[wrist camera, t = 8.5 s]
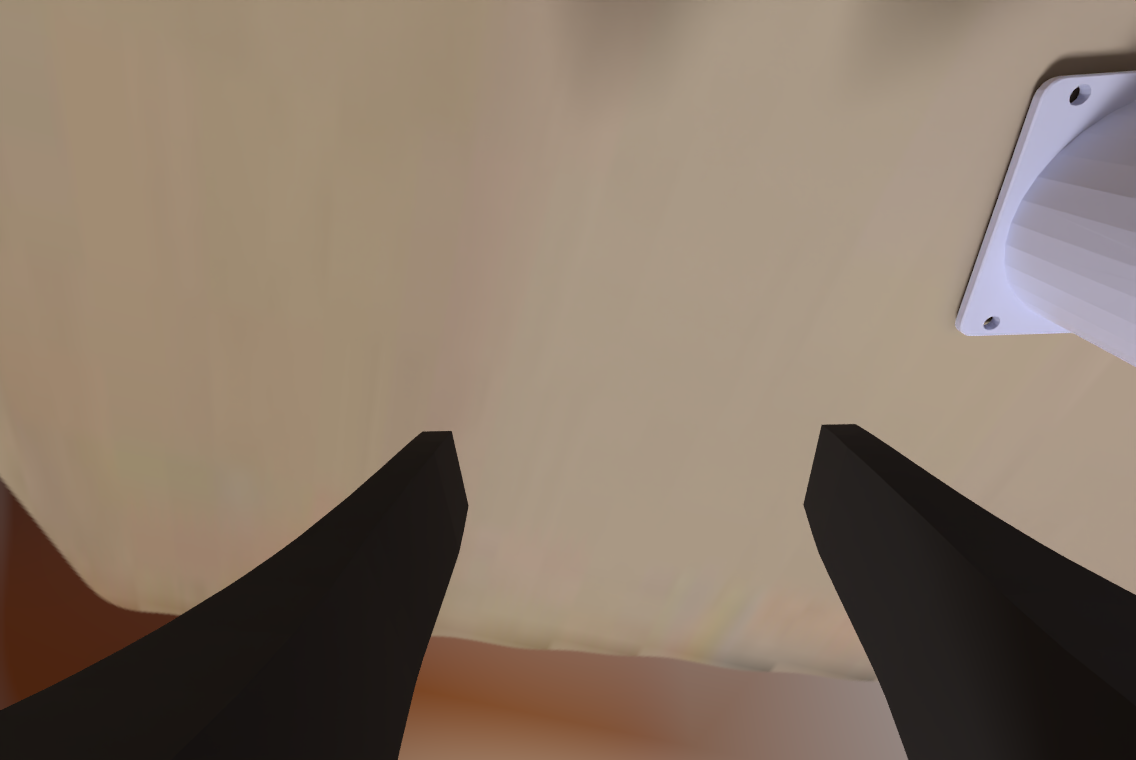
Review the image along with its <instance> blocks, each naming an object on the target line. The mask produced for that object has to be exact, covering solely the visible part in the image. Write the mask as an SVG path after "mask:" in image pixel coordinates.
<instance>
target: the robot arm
mask: <svg viewBox="0 0 1136 760" xmlns="http://www.w3.org/2000/svg"><path fill="white" fill-rule="evenodd" d="M1078 86H1079V88H1080V92H1079V95H1078V97H1077V98H1076V100H1075V101H1073V102H1072V103H1070V102H1069V99H1070V95H1071V93H1072V92H1073V90H1074V89H1076V88H1077V87H1078ZM990 317H993V318H992V320H991V321H990V322H989V323H988V324H986V325H984V322H985V321H986V320H987V319H988V318H990ZM955 326H956V328H957V329H958V330H959V331H960V332H962V333H963V334H965V335H968V336H985V335H1017V334H1049V333H1074V334H1076V335H1078V336H1079V337H1081V338H1083V339H1085V340H1087V341H1089V342H1090V343H1092V344H1094V345H1096V346H1098V347H1100V348H1102V349H1103V350H1105V351H1107V352H1109V353H1111V354H1113V355H1115V356H1116V357H1118V358H1120V359H1122V360H1124V361H1126V362H1127V363H1129V364H1131V365H1133V366H1135V367H1136V70H1135V71H1121V72H1107V73H1093V74H1079V75H1065V76H1057V77H1053V78H1050V79H1049V80H1047V81H1046V82H1044V83H1043V84H1042V85H1041V86H1040V87H1039V88H1038V89H1037V91H1036V93H1035V95H1034V97H1033V99H1032V102H1031V105H1030V108H1029V111H1028V114H1027V116H1026V119H1025V122H1024V125H1023V128H1022V131H1021V134H1020V137H1019V139H1018V142H1017V145H1016V148H1015V151H1014V154H1013V157H1012V160H1011V162H1010V165H1009V168H1008V171H1007V174H1006V177H1005V180H1004V183H1003V185H1002V188H1001V191H1000V194H999V197H998V200H997V203H996V206H995V208H994V211H993V214H992V217H991V220H990V223H989V226H988V229H987V232H986V234H985V237H984V240H983V243H982V246H981V249H980V252H979V255H978V257H977V260H976V263H975V266H974V269H973V272H972V275H971V278H970V280H969V283H968V286H967V289H966V292H965V295H964V298H963V301H962V303H961V306H960V309H959V312H958V315H957V318H956V322H955ZM804 508H805V511H806V514H807V518H808V521H809V524H810V528H811V531H812V534H813V537H814V540H815V543H816V546H817V549H818V552H819V554H820V557H821V559H822V561H823V563H824V565H825V568H826V570H827V572H828V574H829V576H830V578H831V580H832V583H833V585H834V587H835V589H836V591H837V593H838V595H839V598H840V600H841V602H842V604H843V606H844V608H845V610H846V612H847V614H848V616H849V619H850V621H851V623H852V625H853V627H854V629H855V631H856V633H857V635H858V637H859V640H860V642H861V644H862V646H863V648H864V650H865V652H866V654H867V656H868V658H869V661H870V663H871V665H872V667H873V669H874V671H875V674H876V676H877V678H878V681H879V683H880V685H881V688H882V690H883V692H884V695H885V697H886V699H887V702H888V705H889V708H890V710H891V713H892V716H893V718H894V721H895V724H896V727H897V729H898V732H899V735H900V738H901V740H902V743H903V746H904V748H905V751H906V754H907V757H908V760H1136V595H1135V594H1133V593H1131V592H1129V591H1127V590H1125V589H1123V588H1121V587H1119V586H1118V585H1116V584H1114V583H1112V582H1110V581H1108V580H1106V579H1105V578H1103V577H1101V576H1099V575H1097V574H1095V573H1093V572H1091V571H1090V570H1088V569H1086V568H1084V567H1082V566H1080V565H1078V564H1076V563H1075V562H1073V561H1071V560H1069V559H1067V558H1065V557H1064V556H1062V555H1060V554H1058V553H1057V552H1055V551H1053V550H1051V549H1050V548H1048V547H1046V546H1044V545H1043V544H1041V543H1039V542H1037V541H1036V540H1034V539H1032V538H1031V537H1029V536H1027V535H1026V534H1024V533H1022V532H1021V531H1019V530H1017V529H1016V528H1014V527H1013V526H1011V525H1009V524H1008V523H1006V522H1004V521H1003V520H1001V519H999V518H998V517H996V516H994V515H993V514H991V513H990V512H988V511H986V510H985V509H983V508H982V507H980V506H979V505H977V504H975V503H974V502H972V501H971V500H969V499H968V498H966V497H965V496H963V495H961V494H960V493H958V492H957V491H955V490H954V489H952V488H951V487H949V486H948V485H946V484H945V483H943V482H942V481H940V480H939V479H937V478H936V477H934V476H933V475H931V474H930V473H928V472H927V471H925V470H924V469H922V468H921V467H920V466H918V465H917V464H915V463H914V462H912V461H911V460H909V459H908V458H906V457H905V456H903V455H902V454H900V453H899V452H898V451H896V450H895V449H893V448H892V447H890V446H889V445H887V444H886V443H884V442H883V441H881V440H880V439H878V438H877V437H875V436H874V435H872V434H871V433H869V432H868V431H866V430H864V429H863V428H861V427H859V426H858V425H856V424H839V425H822V426H821V430H820V435H819V439H818V444H817V448H816V452H815V457H814V461H813V465H812V470H811V474H810V479H809V483H808V487H807V492H806V496H805V500H804ZM467 511H468V502H467V497H466V493H465V489H464V484H463V480H462V475H461V471H460V466H459V462H458V457H457V453H456V448H455V444H454V439H453V435H452V431H430V432H422V433H420V434H419V435H418V436H417V437H415V438H414V439H413V440H412V441H411V442H410V443H408V444H407V445H406V446H405V447H404V448H403V449H402V450H401V451H399V452H398V453H397V454H396V455H395V456H394V457H393V458H392V459H391V460H390V461H388V462H387V463H386V464H385V465H384V466H383V467H382V468H381V469H380V470H378V471H377V472H376V473H375V474H374V475H373V476H372V477H370V478H369V479H368V480H367V481H366V482H365V483H364V484H362V485H361V486H360V487H359V488H358V489H357V490H356V491H354V492H353V493H352V494H351V495H350V496H349V497H348V498H346V499H345V500H344V501H343V502H341V503H340V504H339V505H338V506H336V507H335V508H334V509H333V510H332V511H330V512H329V513H328V514H327V515H325V516H324V517H323V518H322V519H320V520H319V521H318V522H317V523H315V524H314V525H313V526H312V527H310V528H309V529H308V530H307V531H306V532H304V533H303V534H302V535H300V536H299V537H298V538H297V539H295V540H294V541H293V542H291V543H290V544H289V545H287V546H286V547H284V548H283V549H282V550H280V551H279V552H278V553H276V554H275V555H273V556H272V557H271V558H269V559H268V560H266V561H265V562H263V563H262V564H260V565H259V566H257V567H256V568H255V569H253V570H252V571H250V572H249V573H247V574H246V575H244V576H243V577H241V578H240V579H238V580H237V581H235V582H234V583H232V584H231V585H229V586H228V587H226V588H224V589H223V590H221V591H219V592H218V593H216V594H215V595H213V596H211V597H210V598H208V599H206V600H205V601H203V602H202V603H200V604H198V605H197V606H195V607H193V608H192V609H190V610H189V611H187V612H185V613H184V614H182V615H180V616H179V617H177V618H176V619H174V620H173V621H171V622H169V623H167V624H166V625H164V626H162V627H160V628H159V629H157V630H155V631H153V632H152V633H150V634H148V635H146V636H145V637H143V638H141V639H139V640H137V641H136V642H134V643H132V644H130V645H128V646H127V647H125V648H123V649H121V650H119V651H117V652H116V653H114V654H112V655H110V656H108V657H106V658H104V659H102V660H100V661H99V662H97V663H95V664H93V665H91V666H89V667H87V668H85V669H84V670H82V671H80V672H78V673H76V674H74V675H72V676H70V677H68V678H66V679H64V680H62V681H60V682H58V683H56V684H54V685H52V686H50V687H48V688H46V689H44V690H42V691H40V692H38V693H36V694H34V695H32V696H30V697H27V698H25V699H23V700H21V701H19V702H17V703H15V704H13V705H11V706H9V707H7V708H5V709H3V710H0V760H398V756H399V750H400V746H401V742H402V738H403V734H404V730H405V725H406V721H407V717H408V713H409V709H410V705H411V700H412V696H413V692H414V688H415V684H416V681H417V677H418V674H419V670H420V667H421V664H422V661H423V657H424V654H425V652H426V649H427V645H428V643H429V640H430V637H431V634H432V631H433V628H434V625H435V622H436V619H437V616H438V614H439V611H440V608H441V605H442V602H443V599H444V596H445V593H446V590H447V587H448V584H449V581H450V578H451V575H452V572H453V569H454V566H455V563H456V560H457V557H458V554H459V550H460V546H461V541H462V536H463V532H464V527H465V521H466V516H467Z"/></svg>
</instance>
